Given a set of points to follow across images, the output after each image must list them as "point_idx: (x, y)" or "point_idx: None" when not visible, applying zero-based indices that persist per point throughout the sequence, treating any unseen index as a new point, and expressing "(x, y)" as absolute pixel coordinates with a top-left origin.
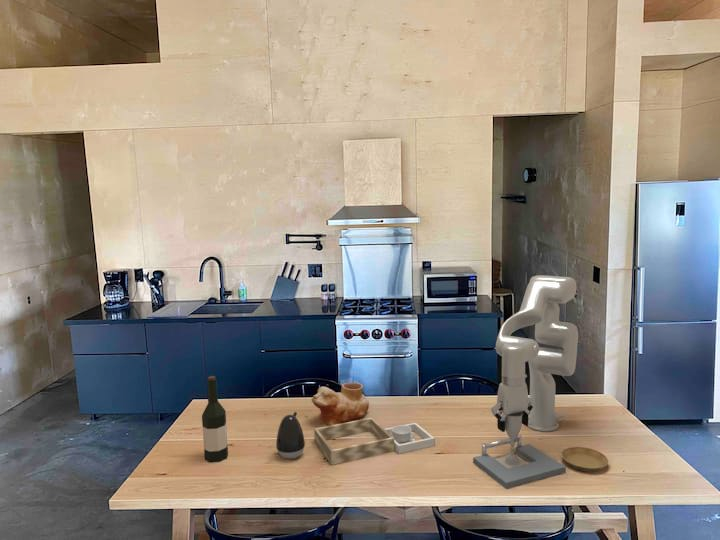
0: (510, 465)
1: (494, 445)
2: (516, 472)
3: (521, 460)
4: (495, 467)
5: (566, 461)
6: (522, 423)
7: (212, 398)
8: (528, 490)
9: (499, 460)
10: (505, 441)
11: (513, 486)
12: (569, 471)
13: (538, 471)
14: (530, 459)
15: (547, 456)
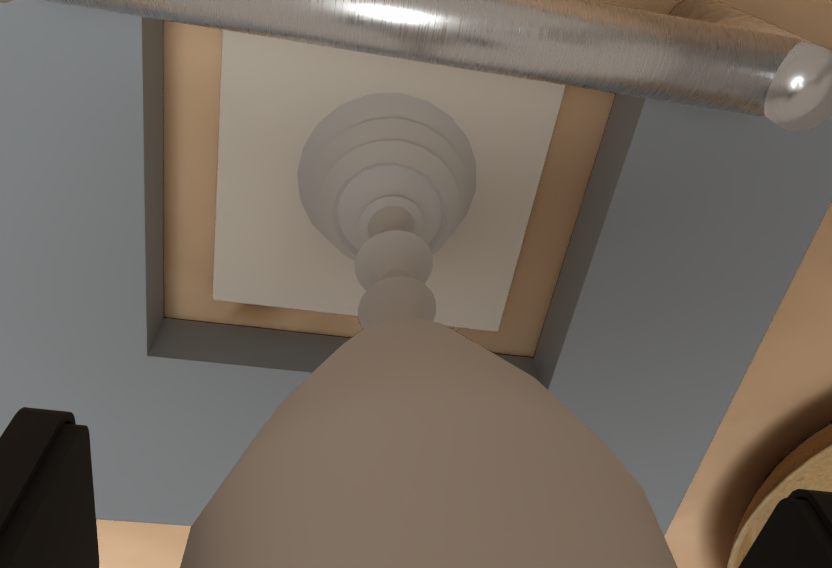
0: (311, 226)
1: (222, 27)
2: (178, 444)
3: (507, 214)
4: (20, 277)
5: (748, 515)
6: (759, 546)
7: None
8: (156, 544)
9: (278, 71)
10: (472, 68)
11: None
12: (673, 519)
13: None
14: (566, 294)
15: (717, 391)
